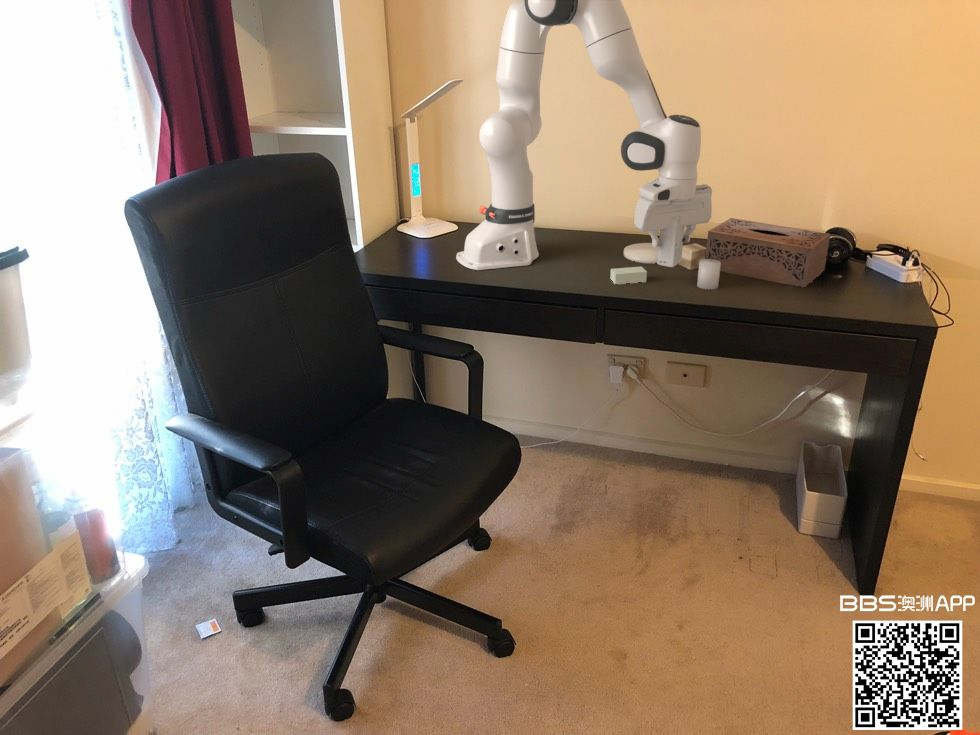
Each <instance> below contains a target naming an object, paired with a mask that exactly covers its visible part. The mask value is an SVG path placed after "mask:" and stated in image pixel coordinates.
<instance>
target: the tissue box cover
mask: <svg viewBox="0 0 980 735" xmlns="http://www.w3.org/2000/svg"><path fill="white" fill-rule="evenodd" d="M830 239H831V233H826V232H820V231H814V230H808V229H801V228H795V227H789V226H783V225H777V224H770V223H765V222H758V221H751V220H745V219H740V218H733V217H730V218H729V219H727V220H725V221H723V222H722V223H720V224H718V225H717V226H715V227H713V228H711V229H709V230H708V231H707V238H706V240H707V241H706V247H705V248H706V258H705V259H713V260H717V261H720V262H721V266H720V272H723V273H728V274H734V275H739V276H743V277H749V278H754V279H759V280H762V281H763V280H764V281H769V282H774V283H778V284H784V285H788V284H789V286H793V285H795V286H794V287H798V286H801V287H800V288H803V287H806V286H807V285H808V284H809V283H810V284H811V283H812V282H813V280H814V279H815V278H816V277H817V278H818V277H819V276H820V275H822V274H823V273H824V272H825V269H826V262H827V258H826V256H828V252H829V251H828V250H829V246H830ZM827 251H828V252H827ZM823 271H824V272H823ZM822 272H823V273H822ZM821 273H822V274H821ZM817 278H816V279H817ZM816 279H815V280H816ZM815 280H814V281H815ZM810 284H809V285H810ZM809 285H808V286H809ZM808 286H807V287H808ZM807 287H806V288H807Z"/></svg>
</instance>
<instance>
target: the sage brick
mask: <svg viewBox="0 0 980 735" xmlns="http://www.w3.org/2000/svg"><path fill="white" fill-rule="evenodd" d="M647 275H648V271H647V270H646V269H645V268H644V267H643V266H632V267H631V266H629V267H620V268H619V267H618V268H610V279H611V280H612V281H613V282H612V281H611V280H610V279H609V280H610V281H611V282H612V284H614V285H615V284H618V285H627V284H626V283H630V284H639V283H638V282H642V283H647Z"/></svg>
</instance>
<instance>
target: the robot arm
mask: <svg viewBox="0 0 980 735" xmlns="http://www.w3.org/2000/svg"><path fill="white" fill-rule="evenodd" d="M569 24H571V25H574V26H575V27H577V28H578V30H579V32H580V33H581V36H582V38H583V42H584V45H585V48H586V51H587V54H588V55H587V56H588V57H589V60H590V63H591V64H592V66H593V68H594V70H595V71H596V73H597V75H599V77H601V78H603V79H604V80H607V81H609V82H611V83H614V84H615V85H617V86H619V87H620V88H622V90H624V92H625V93H626V95H627V96H628V98H629V101H630V103H631V106H632V107H633V110H634V113H635V116H636V118H637V120H638V123H639V126H640V127H639V128H638V129H635V130H633V131H631V132H630V133H628V134H627V135H626V136H625V137H624V138H623V140H622V142H621V145H620V156H621V158H622V161H623V162H624V164H625V166H627V167H628V168H629V169H631V170H633V171H641V172H643V171H652V170H657V171H658V177H656V178H655V179H654V180H652V181H650V182H649V183H648V182H647V183H646V184H644V185H642V186H640V187H639V188H638V195H639V196H640V198H639V199H638V200H637V203H636V205H635V211H634V218H633V219H634V220H633V222H634V227H635V228H636V229H637V230H639V231H641V232H645V233H646V232H648V234H649V236H650V238H651V243H652V246H653V247H660V246H661V240H660V239H659V237H658V234H659V235H660V229H667V228H669V227H670V222H671V217H681V221H680V226H684V227H686V229H685V230H684V237H683V244H684V243H685V244H687V243H690V241H691V235H692V234H693V233H694V231H695V230H696V226H697V225H700V224H707V223H709V222H710V220H711V219H712V210H713V208H712V207H713V206H712V205H713V201H712V195H713V189H712V187H711V186H709V185H708V184H707V183H703V184H697V181H698V169H697V168H698V163H699V160H700V157H701V149H702V148H701V144H702V143H701V142H702V128H701V125H700V122H698V121H697V120H696V119H695V118H693V117H690V116H687V115H682V114H671V115H669V116H667V114H666V111H665V110H664V107H663V105H662V103H661V100H660V97H659V95H658V93H657V90H656V88H655V84H654V81H653V80H652V78H651V75H650V73H649V71H648V69H647V66H646V64H645V62H644V59H643V57H642V54H641V52H640V48H639V45H638V43H637V39H636V36H635V34H634V30H633V27H632V23H631V21H630V17H629V15H628V13H627V11H626V9H625V7H624V5H623V3H622V0H516V1H514V2H512V3H511V4H510V5H509V7H508V9H507V11H506V15H505V18H504V22H503V25H502V29H501V36H500V41H499V46H498V48H499V49H498V57H497V65H496V66H497V67H496V74H495V81H496V85H497V88H498V89H497V90H498V98H499V100H498V101H499V102H498V103H499V105H498V111H495V112H494V113H492V114H490V115H489V116H487V118H486V119H485V121H484V122H483V124H482V125H481V127H480V129H479V135H478V136H479V142H480V146H481V147H482V149H483V150H484V152H485V156H486V160H487V164H488V167H489V168H488V169H489V174H490V196H491V200H490V201H491V202H490V205H489V206H488V207H486V206H484V205H480V206H479V207H478V212H479V214H482V215H484V217H485V219H483V221H481V223H479V224H478V225H477V226H476V227H475V228H474V229H473V230H472V231H470V232H469V233H468V234H467V235H466V237H465V239H464V240H465V241H464V248H463V250H462V251H459V252H457V253H456V256H455V258H456V261H457V263H459V264H461V266H464V267H465V268H468V269H471V270H474V271H475V270H476V271H483V270H493V269H494V270H495V269H502V268H513V267H523V266H529V265H531V264H532V263H533V261H534V260H536V259H537V258H539V256H540V253H539V250H538V247H537V246H538V245H537V242H536V234H535V226H534V223H535V216H536V215H535V214H536V213H535V204H534V174H533V172H532V170H531V168H530V165H529V164H530V163H529V158H528V149H527V148H528V146H530V145H531V144H533V142H534V141H535V140H537V137H538V135H539V134H540V132H541V130H542V129H541V128H542V124H543V123H542V117H541V101H540V100H541V95H540V94H541V93H540V92H541V90H540V89H541V80H542V73H543V65H544V58H545V50H546V44H547V43H546V42H547V37H548V34H549V32H550V30H551V29H552V28H553V27H554V26H556V27H559V26H566V25H569Z"/></svg>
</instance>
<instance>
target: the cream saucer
mask: <svg viewBox="0 0 980 735" xmlns="http://www.w3.org/2000/svg"><path fill="white" fill-rule="evenodd" d="M658 249H659V247H653V246H652V242H641V243H639V242H638V243H633V244H629V245H627V246H625V247H624V249H623V257H624V258H625V259H627V260H629V261H631V262H634V261H635V263H640V264H648V265H651V264H654V265H655V263H657V261H658Z"/></svg>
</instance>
